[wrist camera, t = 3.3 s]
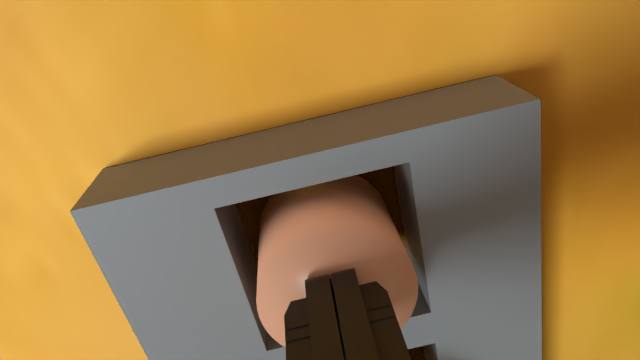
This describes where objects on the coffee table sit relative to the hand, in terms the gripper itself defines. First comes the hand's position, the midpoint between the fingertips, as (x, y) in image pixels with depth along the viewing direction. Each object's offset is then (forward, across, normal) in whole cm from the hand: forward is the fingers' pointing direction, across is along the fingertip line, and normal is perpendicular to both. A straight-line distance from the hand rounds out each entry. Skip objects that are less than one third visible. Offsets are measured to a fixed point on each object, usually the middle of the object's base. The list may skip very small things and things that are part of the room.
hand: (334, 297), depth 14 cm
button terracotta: (+4, 0, 0) cm, 4 cm away
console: (+5, 0, +8) cm, 9 cm away
